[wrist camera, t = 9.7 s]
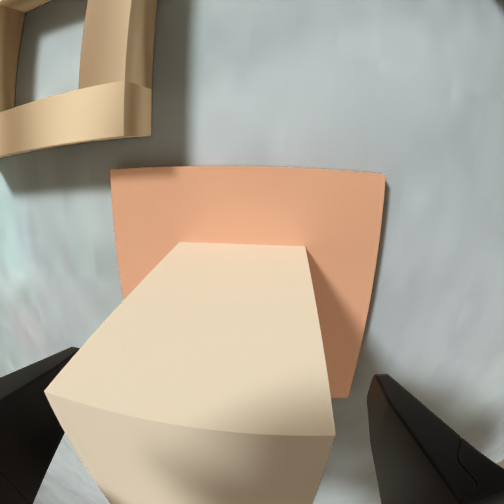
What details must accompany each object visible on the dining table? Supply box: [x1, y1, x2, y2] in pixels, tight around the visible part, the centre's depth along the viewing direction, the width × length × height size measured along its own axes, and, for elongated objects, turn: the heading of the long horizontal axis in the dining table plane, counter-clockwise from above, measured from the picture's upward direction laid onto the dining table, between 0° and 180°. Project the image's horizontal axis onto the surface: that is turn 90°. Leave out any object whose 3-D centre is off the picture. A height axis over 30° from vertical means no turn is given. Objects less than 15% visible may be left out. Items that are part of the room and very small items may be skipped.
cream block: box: [44, 242, 336, 504], centre depth 9 cm, size 5×5×9 cm
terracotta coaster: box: [110, 165, 386, 398], centre depth 14 cm, size 11×11×1 cm
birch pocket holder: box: [0, 0, 158, 158], centre depth 10 cm, size 10×10×2 cm
